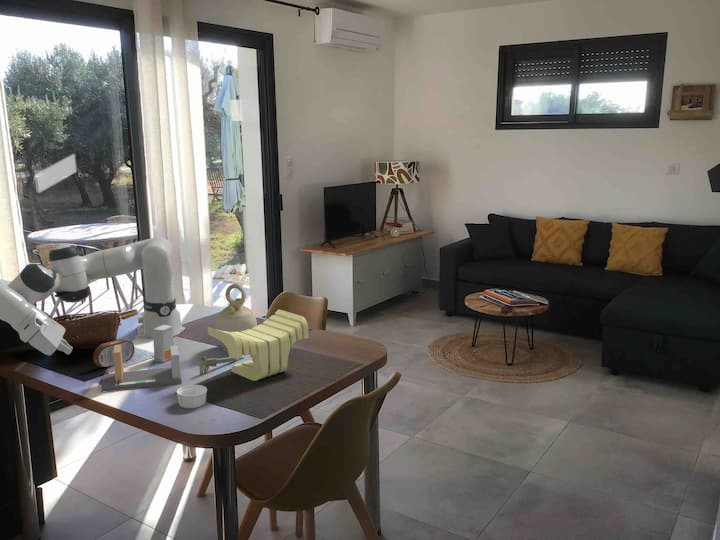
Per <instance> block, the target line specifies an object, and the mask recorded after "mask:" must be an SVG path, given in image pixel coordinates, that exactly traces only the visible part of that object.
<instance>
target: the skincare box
mask: <svg viewBox="0 0 720 540" xmlns="http://www.w3.org/2000/svg"><path fill="white" fill-rule="evenodd" d="M152 339H153V358H154V362H160V363H165V362H167V361H168V360H171V348H170V346H174V336H173V326H168V325H162V326H159V327H157V328H155V329H153V338H152Z"/></svg>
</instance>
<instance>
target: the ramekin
mask: <svg viewBox="0 0 720 540" xmlns="http://www.w3.org/2000/svg"><path fill="white" fill-rule="evenodd" d="M207 391H208V388H207V386H205V385H202V384H189V385H183V386H180V387H179V388H178V389H177V390H176V395H177V402H178V405H179V406H180V408H184V409H196V408H200V407H203V406H204V405H205V404H206V402H207V393H208V392H207Z"/></svg>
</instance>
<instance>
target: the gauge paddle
mask: <svg viewBox="0 0 720 540" xmlns="http://www.w3.org/2000/svg"><path fill="white" fill-rule="evenodd" d="M113 355H114V373H115V381H116V383H117V384H120V382H122V381H123V372H124V363H123V361H122V347H121V344H120V345H115V346H114V352H113Z"/></svg>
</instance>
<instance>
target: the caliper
mask: <svg viewBox="0 0 720 540" xmlns="http://www.w3.org/2000/svg"><path fill="white" fill-rule="evenodd" d="M244 359H245V358H244V356H242V357H241V358H239V359H238V360H237V359H234V358H232V357H229V356H228V357H223V358H222V357H221V358H216V357H215V358H208V357H207V356H204V357H203V356H202V357H201V359H200V361H199V366H198V367H199V368H198V369H199V375H202V376H203V375H204V374H205V375H208V371H209V369H210V367H217V366H218V364H226V363H232V362H238V361H242V360H244Z"/></svg>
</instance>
